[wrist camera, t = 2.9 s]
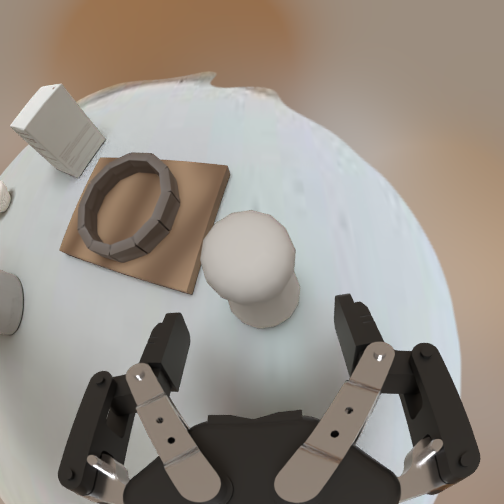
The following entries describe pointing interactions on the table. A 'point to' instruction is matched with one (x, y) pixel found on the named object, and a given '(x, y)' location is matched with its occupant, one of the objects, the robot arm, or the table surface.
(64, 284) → the table surface
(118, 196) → the socket base
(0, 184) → the muffin
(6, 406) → the table surface
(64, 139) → the supplement box
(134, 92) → the table surface
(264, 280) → the salt shaker
